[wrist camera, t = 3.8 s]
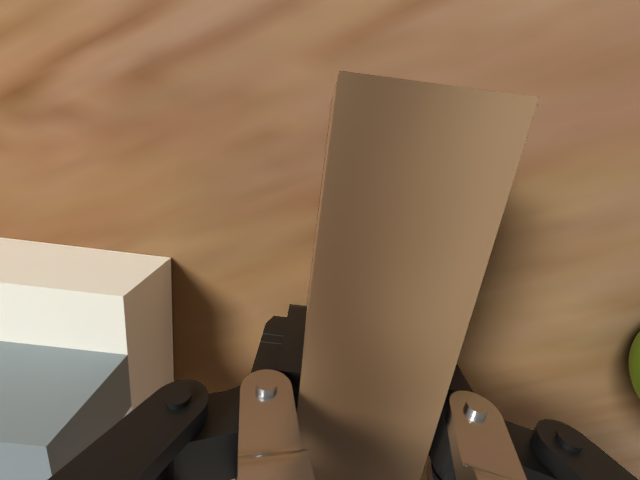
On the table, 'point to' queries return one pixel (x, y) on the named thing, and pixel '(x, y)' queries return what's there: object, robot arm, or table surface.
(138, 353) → the white grey stepped block
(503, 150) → the walnut bar
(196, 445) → the robot arm
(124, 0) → the table surface
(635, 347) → the snail figurine
